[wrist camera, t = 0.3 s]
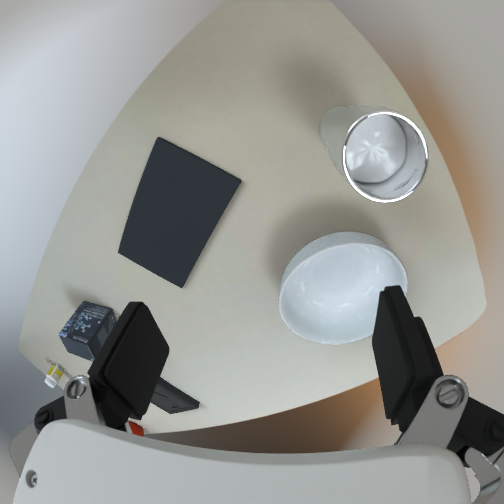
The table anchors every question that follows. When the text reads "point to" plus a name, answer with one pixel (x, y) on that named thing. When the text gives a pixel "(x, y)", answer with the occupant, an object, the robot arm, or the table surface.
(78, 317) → the box
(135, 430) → the apple
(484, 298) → the table surface
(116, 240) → the table surface
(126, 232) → the placemat
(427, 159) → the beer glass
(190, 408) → the picture frame
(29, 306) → the table surface
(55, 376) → the supplement bottle
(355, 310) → the cereal bowl
